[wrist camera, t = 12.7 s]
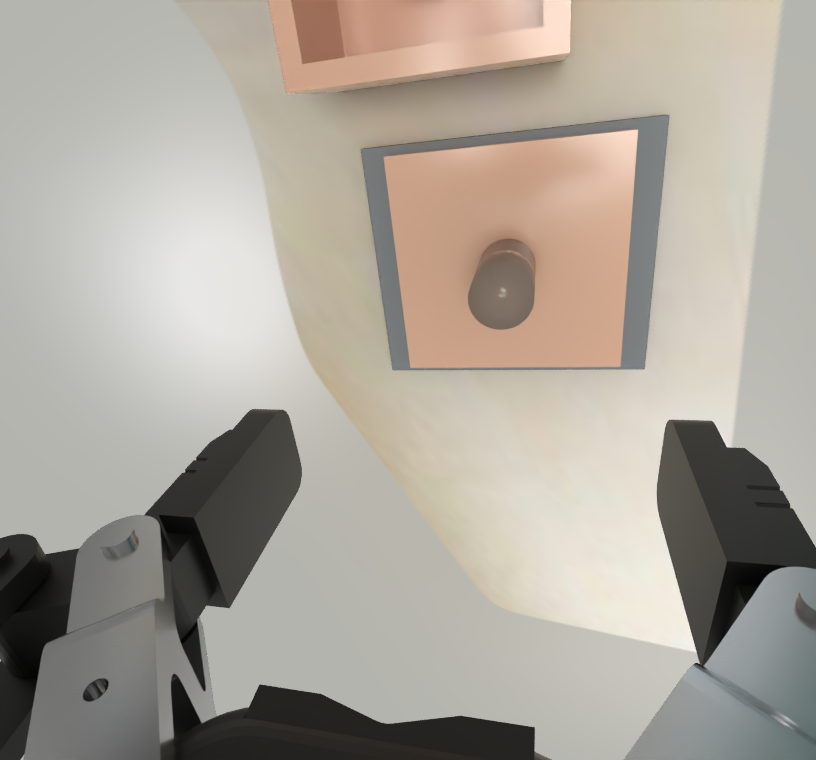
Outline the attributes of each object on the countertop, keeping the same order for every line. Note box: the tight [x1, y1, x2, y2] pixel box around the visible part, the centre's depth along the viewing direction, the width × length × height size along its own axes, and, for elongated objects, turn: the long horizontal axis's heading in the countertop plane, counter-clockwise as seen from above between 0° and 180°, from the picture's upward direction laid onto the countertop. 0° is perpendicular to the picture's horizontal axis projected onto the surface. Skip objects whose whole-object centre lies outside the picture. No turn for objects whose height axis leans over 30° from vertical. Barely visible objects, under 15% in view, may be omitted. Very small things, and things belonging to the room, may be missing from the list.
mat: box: [361, 115, 669, 370], centre depth 32 cm, size 16×14×1 cm
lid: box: [384, 128, 638, 368], centre depth 29 cm, size 13×13×6 cm
